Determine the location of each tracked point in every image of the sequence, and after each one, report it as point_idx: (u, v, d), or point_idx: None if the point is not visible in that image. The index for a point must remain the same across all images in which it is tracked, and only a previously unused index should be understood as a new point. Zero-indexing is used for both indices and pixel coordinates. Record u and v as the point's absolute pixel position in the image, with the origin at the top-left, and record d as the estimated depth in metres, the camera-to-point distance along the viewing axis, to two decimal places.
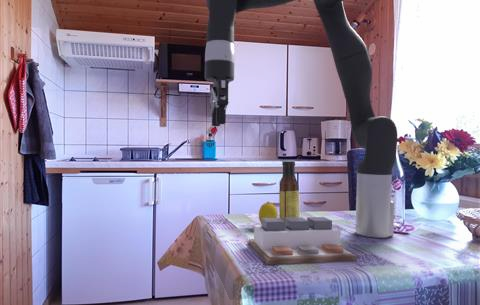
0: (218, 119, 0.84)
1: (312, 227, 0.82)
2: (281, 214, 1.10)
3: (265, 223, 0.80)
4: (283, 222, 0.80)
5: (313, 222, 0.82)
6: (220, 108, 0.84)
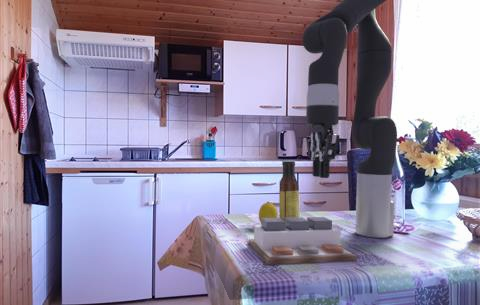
0: (322, 173, 0.81)
1: (312, 227, 0.82)
2: (281, 214, 1.10)
3: (265, 223, 0.80)
4: (283, 222, 0.80)
5: (313, 222, 0.82)
6: (325, 162, 0.81)
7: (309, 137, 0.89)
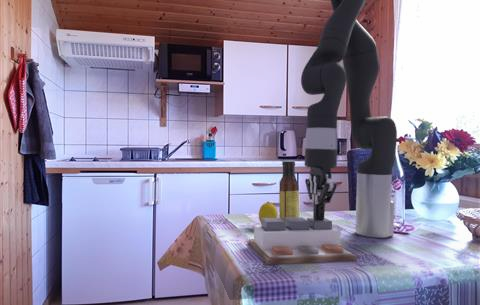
0: (318, 216, 0.83)
1: (312, 228, 0.82)
2: (281, 214, 1.10)
3: (265, 223, 0.80)
4: (283, 222, 0.80)
5: (313, 223, 0.82)
6: (320, 205, 0.82)
7: (308, 179, 0.89)
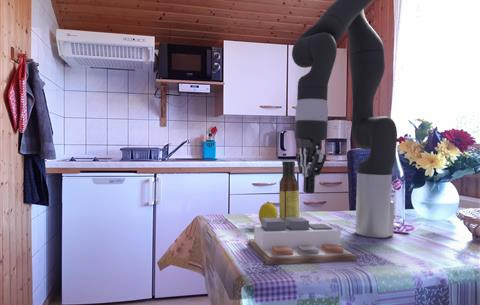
0: (307, 188, 0.82)
1: None
2: (281, 214, 1.10)
3: (265, 223, 0.80)
4: (283, 222, 0.80)
5: (313, 229, 0.82)
6: (310, 177, 0.81)
7: (298, 154, 0.88)
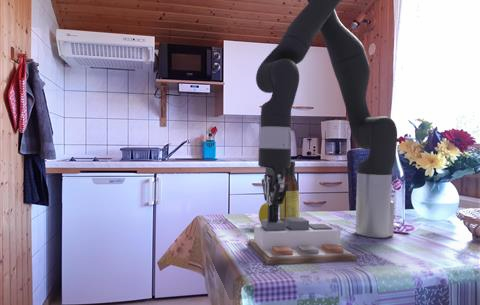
0: (271, 217, 0.80)
1: None
2: (281, 214, 1.10)
3: (265, 224, 0.80)
4: (283, 223, 0.80)
5: (313, 229, 0.82)
6: (273, 206, 0.80)
7: None
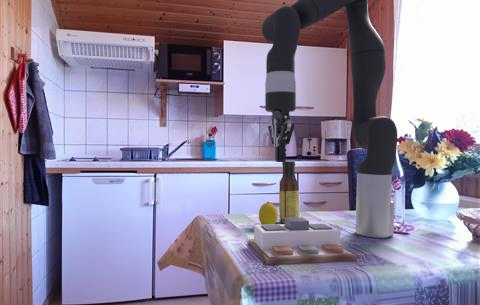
0: (279, 157, 0.86)
1: None
2: (281, 214, 1.10)
3: (265, 230, 0.80)
4: (283, 229, 0.80)
5: (313, 229, 0.82)
6: (281, 147, 0.85)
7: (271, 126, 0.91)
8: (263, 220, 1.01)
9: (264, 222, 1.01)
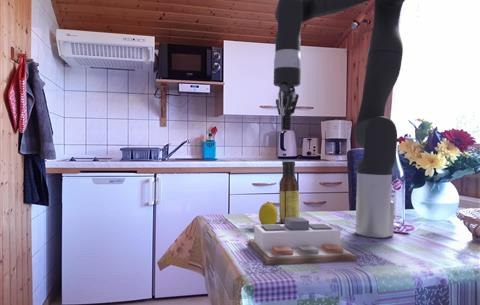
0: (284, 126, 0.97)
1: None
2: (281, 214, 1.10)
3: (265, 230, 0.80)
4: (283, 229, 0.80)
5: (313, 229, 0.82)
6: (286, 116, 0.97)
7: (278, 100, 1.03)
8: (263, 220, 1.01)
9: (264, 222, 1.01)
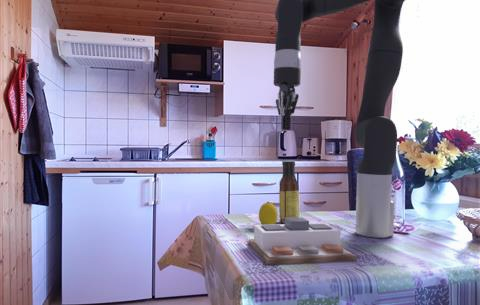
0: (284, 126, 0.97)
1: None
2: (281, 214, 1.10)
3: (265, 230, 0.80)
4: (283, 229, 0.80)
5: (313, 229, 0.82)
6: (286, 116, 0.97)
7: (278, 100, 1.03)
8: (263, 220, 1.01)
9: (264, 222, 1.01)
